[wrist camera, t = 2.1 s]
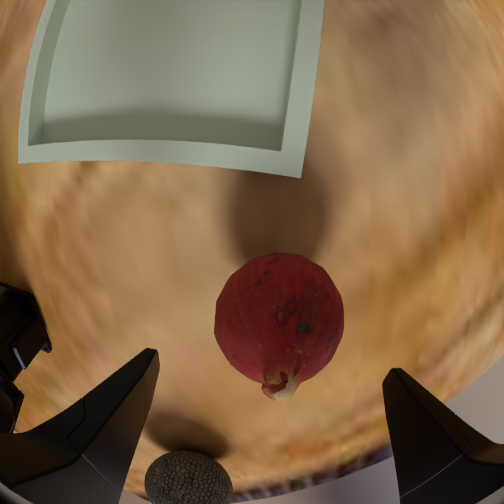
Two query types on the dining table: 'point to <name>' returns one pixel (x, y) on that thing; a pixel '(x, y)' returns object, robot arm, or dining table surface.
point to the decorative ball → (187, 480)
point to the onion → (279, 321)
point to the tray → (172, 83)
